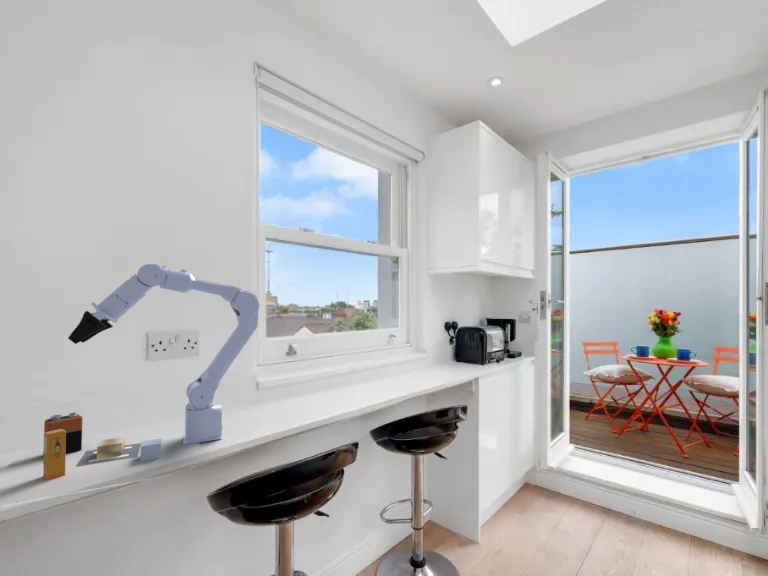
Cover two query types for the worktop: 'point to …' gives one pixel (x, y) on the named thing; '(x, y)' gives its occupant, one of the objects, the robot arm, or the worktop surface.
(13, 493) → the worktop surface
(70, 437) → the battery
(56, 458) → the supplement box
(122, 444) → the oak block
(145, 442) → the blue cube
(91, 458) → the letter mat
